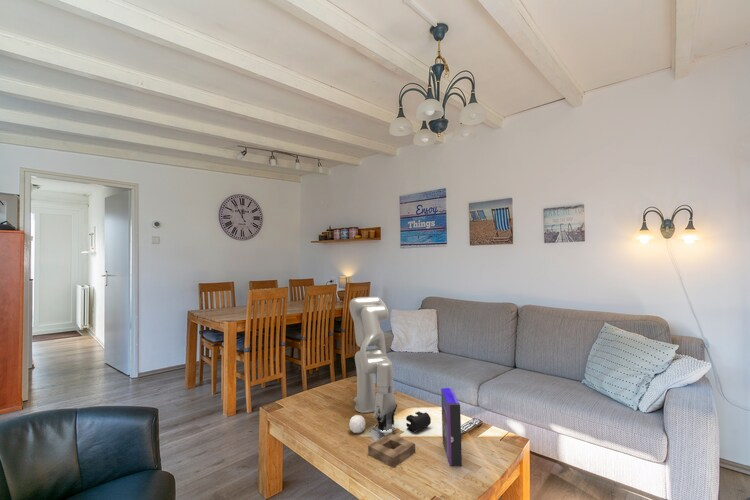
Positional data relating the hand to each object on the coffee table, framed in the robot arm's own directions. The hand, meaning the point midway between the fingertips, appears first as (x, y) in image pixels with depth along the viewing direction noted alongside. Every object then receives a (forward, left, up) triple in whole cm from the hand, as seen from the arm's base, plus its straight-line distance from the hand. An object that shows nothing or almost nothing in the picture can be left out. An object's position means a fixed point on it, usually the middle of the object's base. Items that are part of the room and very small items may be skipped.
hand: (386, 426), depth 168 cm
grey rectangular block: (0, 0, -3) cm, 3 cm away
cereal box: (+32, +5, -3) cm, 33 cm away
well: (+13, -11, -3) cm, 17 cm away
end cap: (+9, +13, -4) cm, 16 cm away
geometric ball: (-11, -8, -3) cm, 14 cm away
